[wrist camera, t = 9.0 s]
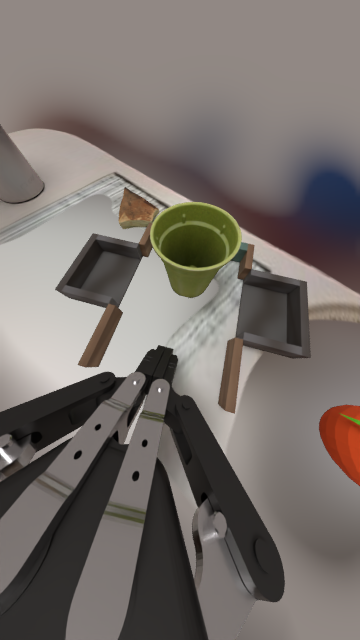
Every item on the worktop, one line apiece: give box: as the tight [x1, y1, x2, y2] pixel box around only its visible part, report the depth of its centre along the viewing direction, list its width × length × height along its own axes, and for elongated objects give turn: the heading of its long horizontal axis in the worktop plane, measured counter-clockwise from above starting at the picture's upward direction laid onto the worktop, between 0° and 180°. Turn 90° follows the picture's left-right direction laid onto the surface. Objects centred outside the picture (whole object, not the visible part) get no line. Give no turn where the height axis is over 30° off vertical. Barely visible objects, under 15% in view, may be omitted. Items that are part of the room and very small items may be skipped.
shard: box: [119, 187, 159, 229], centre depth 27 cm, size 11×8×2 cm
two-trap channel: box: [55, 223, 311, 414], centre depth 19 cm, size 34×24×2 cm
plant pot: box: [150, 202, 242, 298], centre depth 17 cm, size 9×9×9 cm
